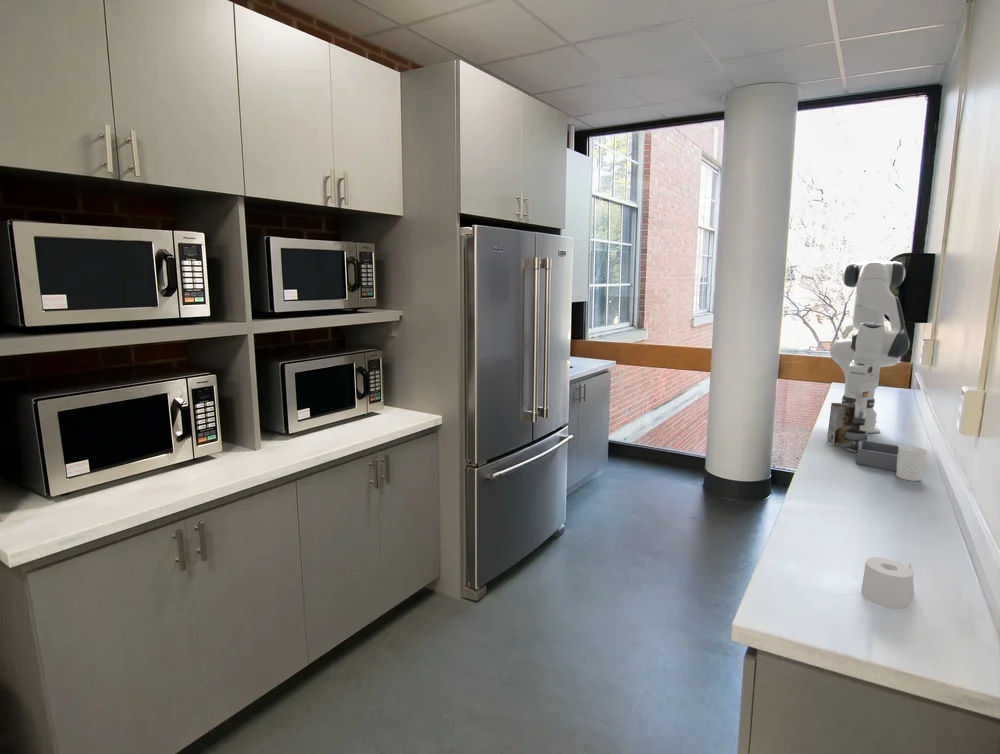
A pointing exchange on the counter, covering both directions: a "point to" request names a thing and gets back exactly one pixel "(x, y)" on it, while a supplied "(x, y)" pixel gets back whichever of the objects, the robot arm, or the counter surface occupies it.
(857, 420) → the gold-capped metal cylinder
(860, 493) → the counter surface
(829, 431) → the coffee box
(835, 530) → the counter surface
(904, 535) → the counter surface
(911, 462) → the white cup
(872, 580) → the toilet paper
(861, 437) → the grey capsule holder
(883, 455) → the bin
